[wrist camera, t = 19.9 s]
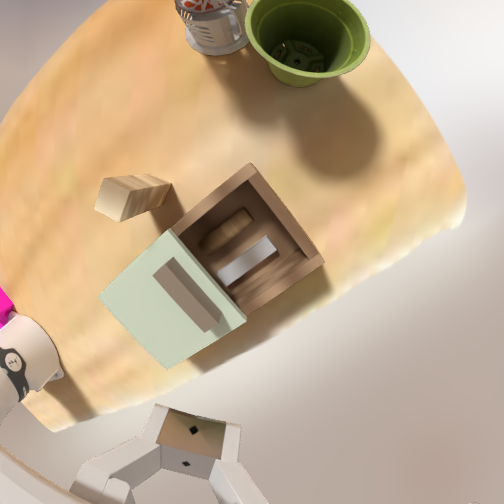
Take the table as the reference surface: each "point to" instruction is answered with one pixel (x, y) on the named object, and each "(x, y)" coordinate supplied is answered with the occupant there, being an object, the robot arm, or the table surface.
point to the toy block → (4, 308)
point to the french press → (214, 25)
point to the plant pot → (308, 38)
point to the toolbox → (248, 240)
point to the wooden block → (130, 195)
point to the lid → (171, 302)
